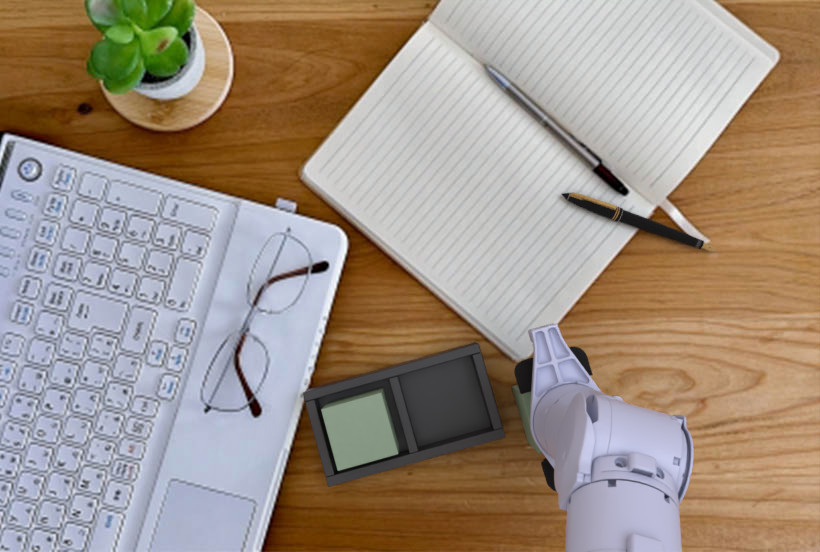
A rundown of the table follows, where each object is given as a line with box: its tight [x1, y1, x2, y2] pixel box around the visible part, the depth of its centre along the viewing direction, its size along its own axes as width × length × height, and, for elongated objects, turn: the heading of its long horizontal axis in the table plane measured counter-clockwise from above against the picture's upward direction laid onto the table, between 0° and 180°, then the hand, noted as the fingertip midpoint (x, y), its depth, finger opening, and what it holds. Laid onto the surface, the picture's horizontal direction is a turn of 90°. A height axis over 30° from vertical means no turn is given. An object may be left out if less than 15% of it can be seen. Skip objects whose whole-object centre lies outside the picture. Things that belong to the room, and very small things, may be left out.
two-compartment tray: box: [302, 341, 507, 488], centre depth 68 cm, size 8×15×6 cm, turn 106°
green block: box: [511, 384, 543, 454], centre depth 67 cm, size 5×5×6 cm
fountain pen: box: [561, 191, 721, 252], centre depth 70 cm, size 14×1×2 cm, turn 69°
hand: (550, 409), depth 69 cm, fingers closed on green block, 5 cm apart
